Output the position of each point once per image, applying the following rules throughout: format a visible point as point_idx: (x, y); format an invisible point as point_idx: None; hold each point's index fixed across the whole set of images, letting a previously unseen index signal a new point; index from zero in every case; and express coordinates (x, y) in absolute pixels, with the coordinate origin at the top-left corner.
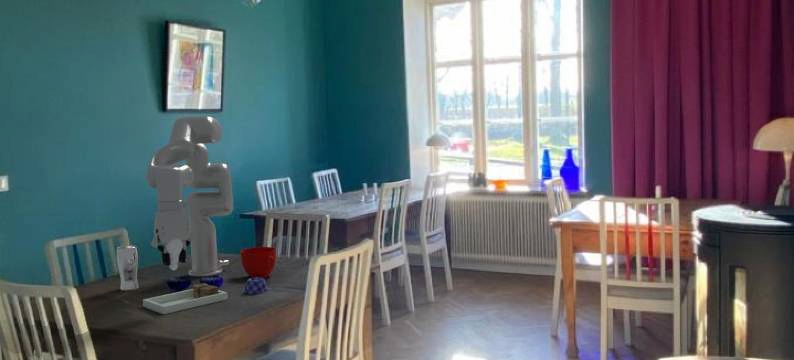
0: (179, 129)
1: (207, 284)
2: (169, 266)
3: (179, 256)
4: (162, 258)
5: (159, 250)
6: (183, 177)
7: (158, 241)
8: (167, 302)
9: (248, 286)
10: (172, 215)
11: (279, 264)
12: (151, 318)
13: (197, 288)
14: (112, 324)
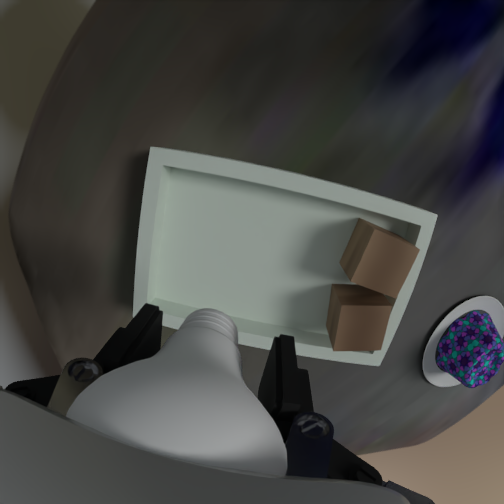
0: None
1: (403, 282)
2: (182, 323)
3: (270, 376)
4: (109, 344)
5: (52, 382)
6: None
7: (9, 399)
8: (247, 185)
9: (456, 361)
10: None
11: None
12: (115, 279)
13: (349, 279)
14: (35, 225)
